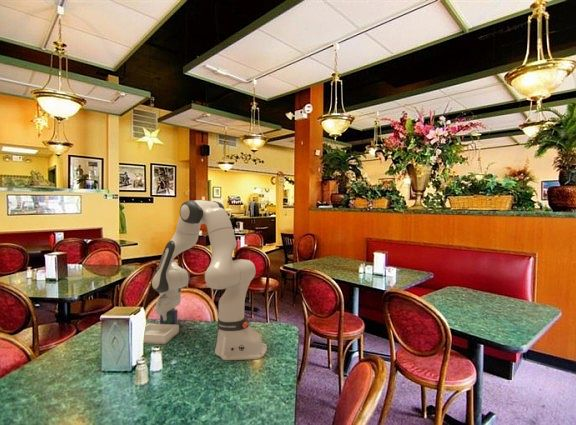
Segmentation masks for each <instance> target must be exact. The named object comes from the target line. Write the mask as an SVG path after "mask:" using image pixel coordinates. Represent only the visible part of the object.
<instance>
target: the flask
mask: <svg viewBox="0 0 576 425" xmlns="http://www.w3.org/2000/svg"><path fill="white" fill-rule="evenodd" d="M166 315H167V317H168V320H166V321H163V317H162V315H159V324H174V325H179V323H178V309H175V310H170V311H168V312H167V314H166Z"/></svg>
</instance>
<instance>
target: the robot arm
mask: <svg viewBox="0 0 576 425" xmlns="http://www.w3.org/2000/svg"><path fill="white" fill-rule="evenodd" d="M202 225H205V226H206V230H207V234H208V238H209V242H210V243H209V244H210V248H211V260H210V263H209V266H207V268H206V271H205V273H204V281H205V284H206V285H207V287H208V288H210V290H225V291H224V292H223V294H222V295H221V297H220V298H219V301H218V318H217V324H216V326H217V327H216V328H217V338H216V346H215V349H214V354H215V355H216V356H218V357H220V358H221V360H223V361H237V360H238V361H239V360H240V361H241V360H242V361H243V360H259V359H261V358H263V357H264V356H265V355H266V353H267V351H268V346H267V344H266V343H264V342H263V341H262V336H261V334H260V333H259V332H258V331H256V330H255V329H254V328H253V327H251V326H250V325H249V324H250V318H249V317H248V318H247V317H246V316H245V300H246V296H247V293H248V292H247V291H248V289H249V286H250V284H251V281H252V280H253V279H254V278H255V276H256V274H257V273H256V266H255V264H254V262H252V261H251V260H249V259H243V258H242V259H241V258H240V259H234V260H233V253H234V250H236V247H237V246H238V245H237V244H238V243H237V240H236V236H235V235H236V234H235V232H234V229H233V225H232V221H231V219H230V216H229V214H228V212H227V210H226V208H225V206H224V205H223V204H222V203H221V202H218V201H216V200H215V201H214V200H213V201H211V200H205V199H200V200H199V199H196V200H187V201H184V202H182V204H181V206H180V208H179V218H178V220H177V224H176V229H175V231H174V235H173V236H172V238H171V239H170V240H169V241H168V242H167V243H166V245H165V247H164V249H163V251H162V255H161V257H160V259H159V260H160V261H159V263H158V266H157V268H156V270H155V272H154V274H153V276H152V278H151V287H152V289H153V290H154V291H156V292H158V293H159V297H158V298H157V300H156V304H155V315H156V316H160V315H162V317H163V321H166V320H168V317H167V315H166V314H167V312H168V311H170V310H176V307H178V306H180V303H181V297H182V293H181V292H182V288H185V287H187V286H188V285H189V283H190V280H191V275H190V272H189V271H188V270H187V269H186V268H182V267H181V266H179V265H178V262H177V261H175V260H174V259H175V258H176V257H177V256H179V255H180V254H182V253H183V252H185V251H187V250H190V249H191V248H193V247H194V246H195V245H196V244H197V242H198V240H199V236H200V230H201V226H202Z"/></svg>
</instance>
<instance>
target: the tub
mask: <svg viewBox="0 0 576 425" xmlns="http://www.w3.org/2000/svg"><path fill="white" fill-rule="evenodd" d="M145 326H146V327H145V334H144V343H143V344H148V345H166V344H167V343H168V342H170V341H171V340H172V339H173V338H174V337H175V336H177V335H178V334H180V325H179V324H178V325H174V324H160V323H146V325H145Z"/></svg>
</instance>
